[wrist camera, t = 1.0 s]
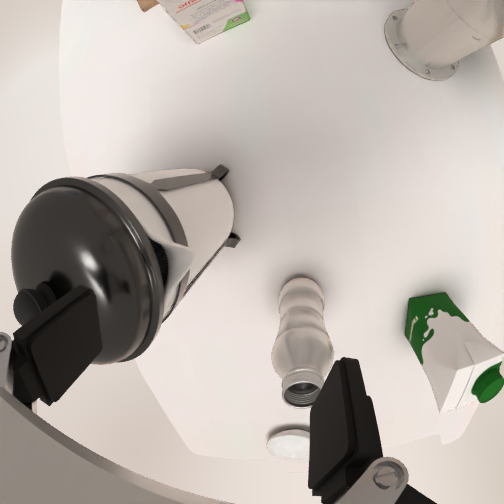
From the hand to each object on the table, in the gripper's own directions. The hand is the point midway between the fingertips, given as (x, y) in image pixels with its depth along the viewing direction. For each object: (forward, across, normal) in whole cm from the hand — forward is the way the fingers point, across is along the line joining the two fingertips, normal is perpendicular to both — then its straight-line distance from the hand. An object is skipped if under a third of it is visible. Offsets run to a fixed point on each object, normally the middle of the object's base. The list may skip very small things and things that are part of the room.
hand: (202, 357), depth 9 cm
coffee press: (+29, +11, +3) cm, 32 cm away
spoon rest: (+29, -22, +45) cm, 58 cm away
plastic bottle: (+29, -7, +11) cm, 32 cm away
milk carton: (+29, -28, +10) cm, 42 cm away
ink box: (+30, +13, -27) cm, 42 cm away
